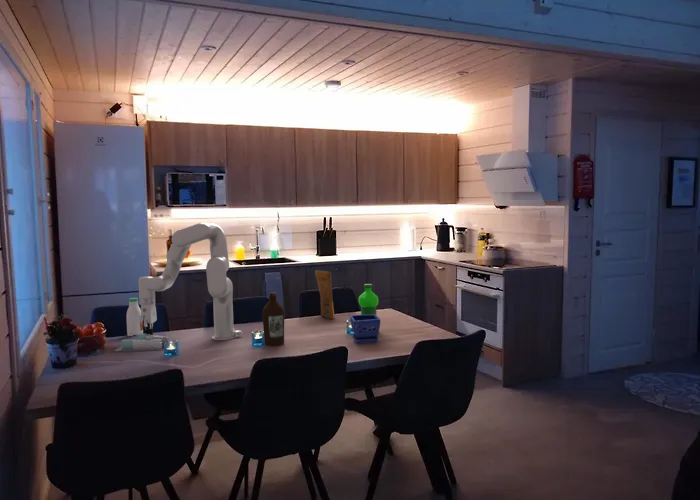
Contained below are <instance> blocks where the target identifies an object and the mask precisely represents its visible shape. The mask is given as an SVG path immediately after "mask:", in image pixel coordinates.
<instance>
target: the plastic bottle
mask: <svg viewBox="0 0 700 500" xmlns="http://www.w3.org/2000/svg"><path fill="white" fill-rule="evenodd" d="M363 289H364V292H363V293H361V294H360V295H359V296H358V299H357V300H358V305H359V306H360V315H365V314H375V315H377V306H378V305H379V296H378V295H377V294H375V293H374V292H373V291H372V289H373V284H372V283H365V284H363Z"/></svg>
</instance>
